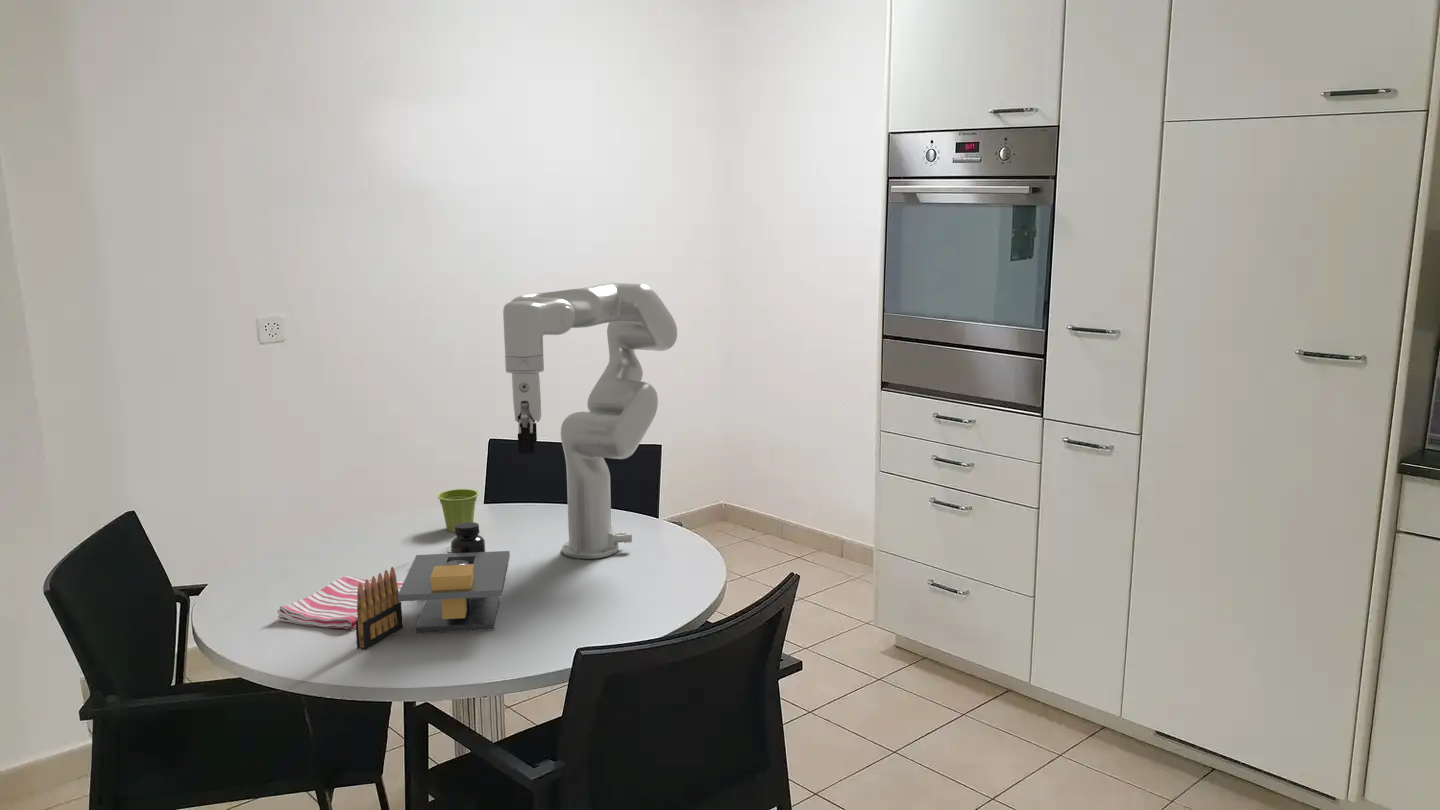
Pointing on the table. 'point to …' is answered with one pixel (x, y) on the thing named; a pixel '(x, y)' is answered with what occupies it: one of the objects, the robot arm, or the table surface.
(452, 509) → the plant pot
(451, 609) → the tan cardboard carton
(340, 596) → the dish towel
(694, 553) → the table surface
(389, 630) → the ammunition clip
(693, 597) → the table surface
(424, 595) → the gray tiered stand
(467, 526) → the supplement bottle
